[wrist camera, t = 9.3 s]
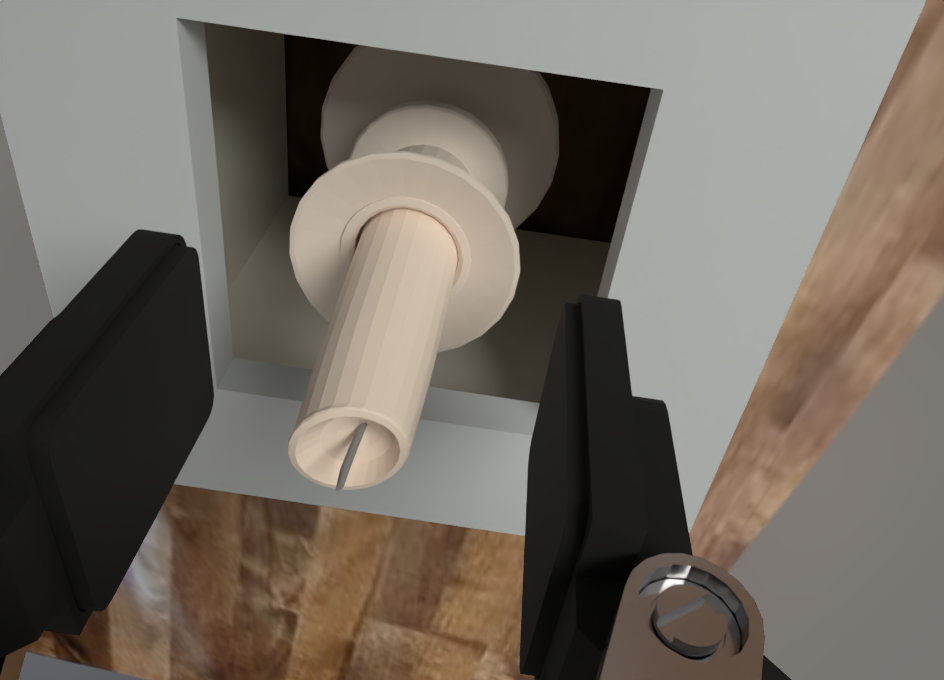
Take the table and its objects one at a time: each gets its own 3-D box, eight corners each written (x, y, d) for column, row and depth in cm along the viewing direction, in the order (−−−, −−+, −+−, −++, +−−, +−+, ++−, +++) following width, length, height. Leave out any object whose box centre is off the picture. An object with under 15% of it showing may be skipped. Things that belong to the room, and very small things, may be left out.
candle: (597, 63, 16) (644, 393, 8) (513, 267, 19) (482, 658, 11) (352, -24, 15) (112, 231, 7) (306, 201, 18) (103, 564, 10)
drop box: (234, -257, 19) (-103, -283, 9) (764, -179, 19) (980, -123, 9) (260, 217, 27) (92, 471, 17) (634, 272, 27) (678, 558, 17)
